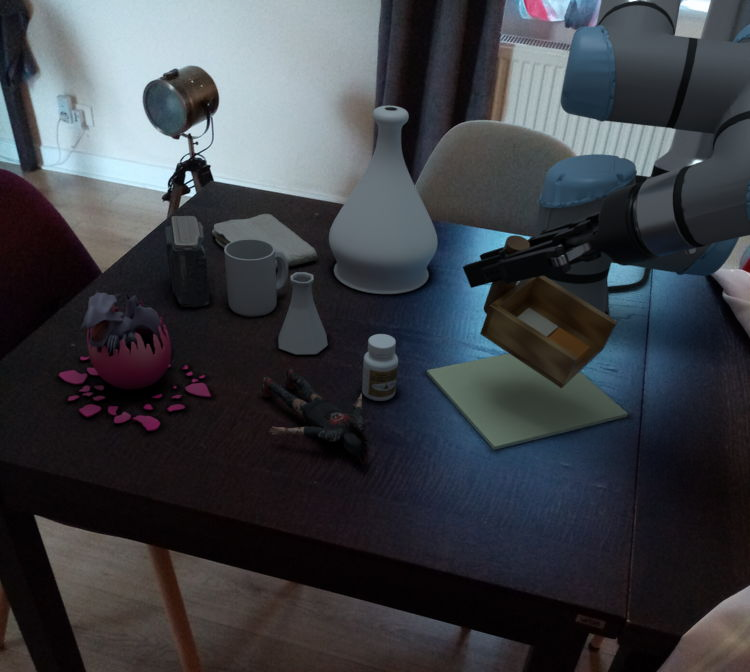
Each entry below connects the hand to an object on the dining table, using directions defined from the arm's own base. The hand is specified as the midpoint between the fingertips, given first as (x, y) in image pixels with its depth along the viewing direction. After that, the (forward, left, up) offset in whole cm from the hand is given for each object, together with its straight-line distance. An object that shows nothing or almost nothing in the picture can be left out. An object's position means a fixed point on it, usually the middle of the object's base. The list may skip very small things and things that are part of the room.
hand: (477, 270), depth 95 cm
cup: (+19, -29, -16) cm, 38 cm away
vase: (-3, -33, -16) cm, 36 cm away
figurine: (+22, +4, -16) cm, 27 cm away
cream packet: (-4, +8, -5) cm, 10 cm away
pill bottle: (+12, -1, -16) cm, 20 cm away
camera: (+28, -36, -16) cm, 48 cm away
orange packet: (-6, +12, -6) cm, 14 cm away
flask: (+17, -16, -16) cm, 28 cm away
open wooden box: (-4, +8, -6) cm, 11 cm away
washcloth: (+13, -47, -16) cm, 51 cm away
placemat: (-6, +6, -16) cm, 18 cm away
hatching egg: (+41, -13, -16) cm, 46 cm away
